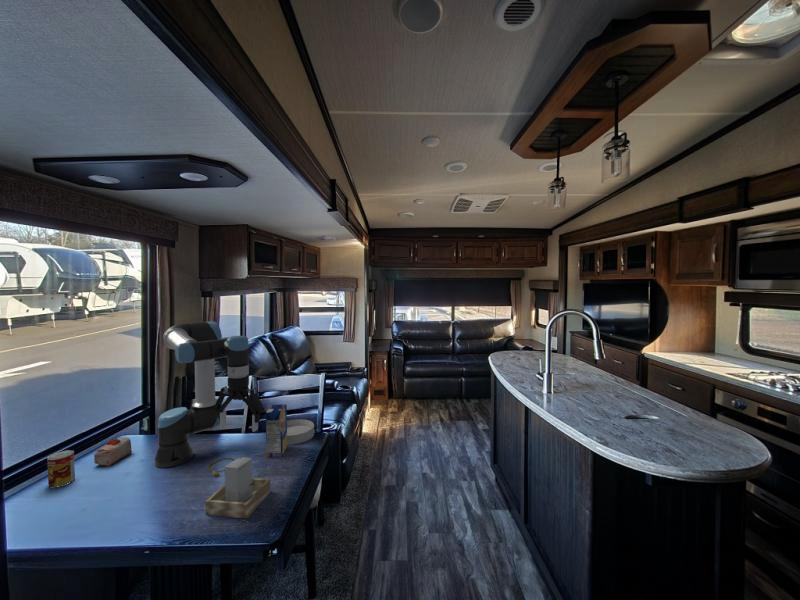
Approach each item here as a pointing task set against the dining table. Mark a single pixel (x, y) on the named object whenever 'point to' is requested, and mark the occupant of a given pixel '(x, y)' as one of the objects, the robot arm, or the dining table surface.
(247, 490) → the skincare box
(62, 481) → the canned food
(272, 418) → the beverage box
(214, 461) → the extension cord
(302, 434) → the dish
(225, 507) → the birch box
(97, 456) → the food item
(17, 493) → the dining table surface
